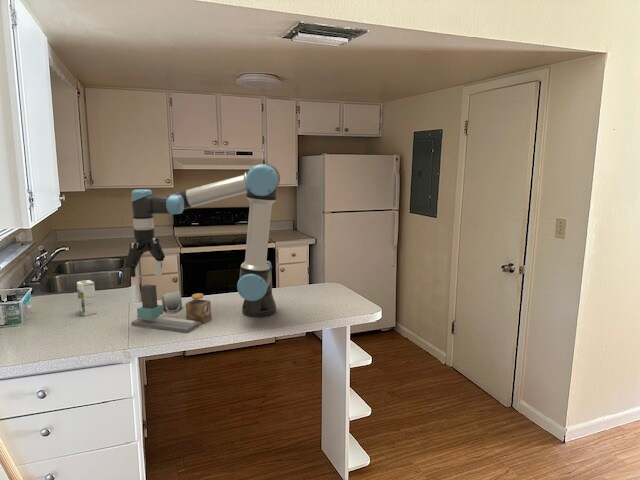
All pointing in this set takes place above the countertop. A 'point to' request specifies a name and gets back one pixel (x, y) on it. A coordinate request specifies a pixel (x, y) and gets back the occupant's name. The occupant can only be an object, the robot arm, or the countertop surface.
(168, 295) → the ceramic mug
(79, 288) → the syrup box
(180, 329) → the rail
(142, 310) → the carriage
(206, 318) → the gauge cabinet
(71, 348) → the countertop surface
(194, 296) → the button
